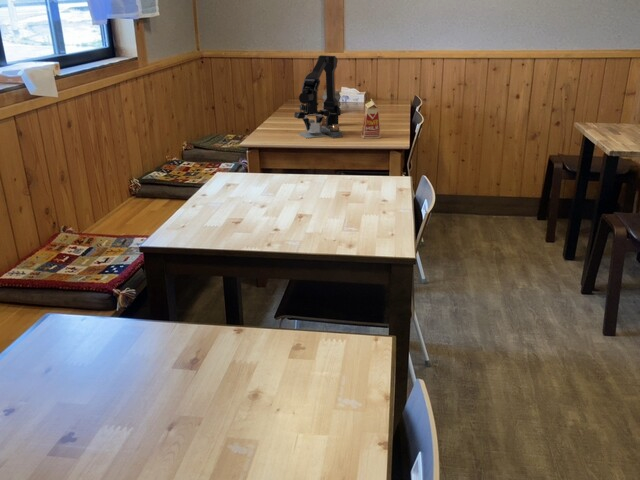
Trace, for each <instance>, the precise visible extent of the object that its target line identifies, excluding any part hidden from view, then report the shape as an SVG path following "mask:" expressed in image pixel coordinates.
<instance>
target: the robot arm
mask: <svg viewBox="0 0 640 480" xmlns="http://www.w3.org/2000/svg"><path fill="white" fill-rule="evenodd" d="M338 62H339V61H338V58H337V57H336V56H335V55H327V54H326V55H324V54H323V55H319V56H318V58H317V61H316V63H315V65H314V67H313V69H312V71H311V72H310V73H308V74H307V75H306V76H305V78H304V81H303V83H302V88H301V93H300V94H299V96H298V100H299V103H301V104H299V111H295V112H294V118H296V119H297V120H298V119H299V120H300V119H301V120H302V121H303V122H304V125H306V128H307V130H309V119H310V118H309V117H311V116H312V117H313V116H315V119H316V120H315V121H316V122H318V123H321V121H322V119H323V118H326V124H327V125H330V126H332V124H339V116H341V115H342V109H341V108H340V107H339V106H338V101H337V99H336V98H335V90H336V88H335V87H336V85H335V70H336V68H337V67H338ZM323 71H324V72H325V84H326V85H325V88H326V93H327V98H326V100H325V102H324V101H323V102H324V107H323V106H322V107H323V110H322V109H319V110H318V106H319V103H318V92H319V86H320V84H321V79H320V77H321V76H322V74H323ZM340 109H341V110H340ZM339 127H340V124H339Z"/></svg>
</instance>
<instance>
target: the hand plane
mask: <svg viewBox="0 0 640 480" xmlns="http://www.w3.org/2000/svg"><path fill="white" fill-rule="evenodd" d="M339 125H340V124H339V123H338V124H332V126H330V125H327V124H326V117H324V118H323V119H322V121H321V123H320V132H321V133H323V134H325V135H327V137H330V138H331V139H338V138H343V133H344V132H343V131H342V130H341V129H340V126H339Z"/></svg>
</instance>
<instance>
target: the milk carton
mask: <svg viewBox="0 0 640 480" xmlns="http://www.w3.org/2000/svg"><path fill="white" fill-rule="evenodd" d="M364 105H365V107H364V117H363V124H362V125H363V126H362V129H361V134H360V136H361V137H362V138H363V139H371V140H373V139H374V140H375V139H380V138H381V125H380V124H381V123H380V121H381V120H380V112H379V107H378V106H377V105H376V103H375V102H374V99H372V98H370V101H368V102H367V103H365V104H364Z"/></svg>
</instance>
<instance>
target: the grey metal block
mask: <svg viewBox="0 0 640 480" xmlns="http://www.w3.org/2000/svg"><path fill="white" fill-rule="evenodd" d="M304 125H305V124H304ZM304 128H305V131H306V132H310V133H317V132H320V123H318V122H316V120H315V119H313V118H311V119H310V118H309V130H307V128H306V125H305V126H304Z"/></svg>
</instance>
